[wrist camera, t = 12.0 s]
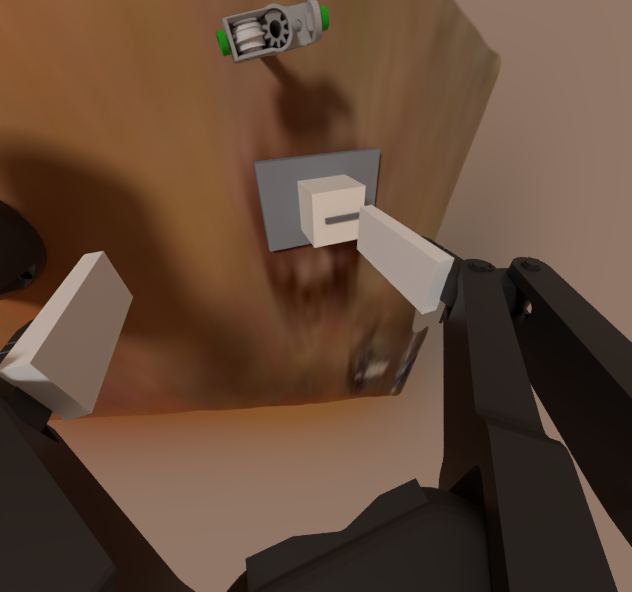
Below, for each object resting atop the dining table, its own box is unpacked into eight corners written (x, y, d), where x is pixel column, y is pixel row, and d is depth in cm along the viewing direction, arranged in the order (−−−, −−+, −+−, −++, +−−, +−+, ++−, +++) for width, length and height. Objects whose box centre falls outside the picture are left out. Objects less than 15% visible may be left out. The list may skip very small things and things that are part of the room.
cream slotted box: (301, 230, 44) (315, 249, 38) (297, 181, 39) (312, 195, 33) (343, 222, 46) (362, 239, 40) (345, 174, 41) (367, 186, 35)
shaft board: (268, 247, 45) (275, 264, 41) (253, 161, 37) (259, 170, 32) (368, 228, 50) (384, 241, 46) (375, 147, 41) (396, 153, 37)
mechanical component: (301, 52, 31) (332, 38, 24) (222, 73, 30) (227, 65, 23) (295, 17, 29) (326, -10, 22) (210, 38, 28) (212, 17, 21)
